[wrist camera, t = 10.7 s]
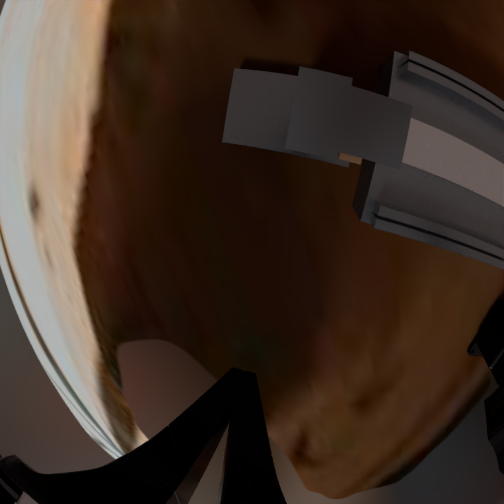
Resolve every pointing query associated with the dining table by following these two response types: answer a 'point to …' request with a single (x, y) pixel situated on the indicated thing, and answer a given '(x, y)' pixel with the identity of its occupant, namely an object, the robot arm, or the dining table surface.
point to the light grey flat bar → (454, 160)
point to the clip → (346, 120)
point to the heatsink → (427, 184)
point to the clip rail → (263, 111)
